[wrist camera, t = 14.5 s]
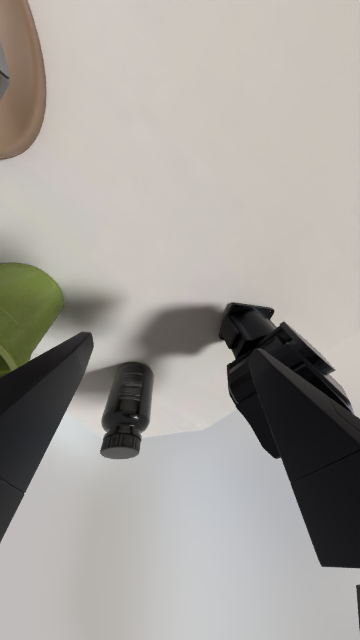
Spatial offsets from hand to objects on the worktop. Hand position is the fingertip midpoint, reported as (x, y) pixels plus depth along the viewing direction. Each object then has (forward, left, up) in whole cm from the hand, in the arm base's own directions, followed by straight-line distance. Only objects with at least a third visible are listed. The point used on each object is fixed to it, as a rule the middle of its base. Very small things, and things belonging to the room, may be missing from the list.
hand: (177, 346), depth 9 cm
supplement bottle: (+4, +20, -13) cm, 24 cm away
